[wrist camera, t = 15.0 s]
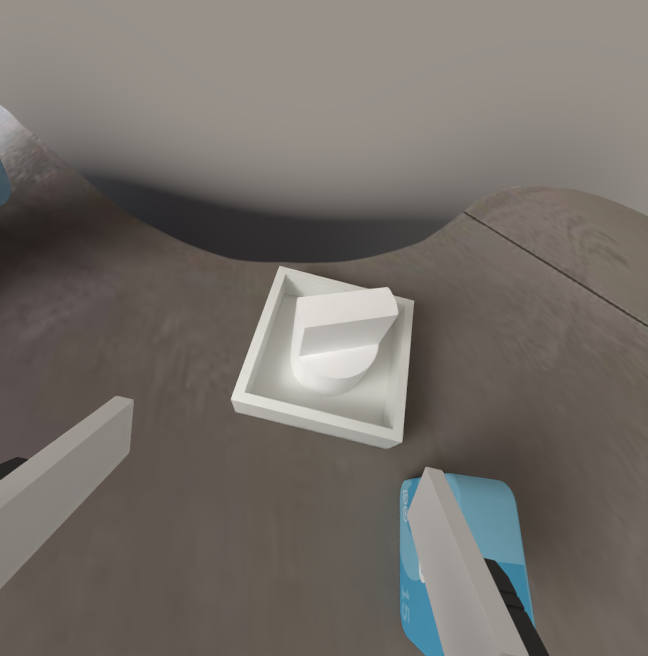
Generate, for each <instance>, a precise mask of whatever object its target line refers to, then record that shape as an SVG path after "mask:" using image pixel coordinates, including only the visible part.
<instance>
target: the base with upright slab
mask: <svg viewBox="0 0 648 656" xmlns="http://www.w3.org/2000/svg"><path fill="white" fill-rule="evenodd" d="M397 316H398V308H397V304H396V300H395V298H394V296H393V294H392V293H391V291H390V289H389V288H388V287H384V288H375V289H367V290H358V291H350V292H341V293H332V294H324V295H315V296H306V297H298V298H297V304H296V312H295V320H294V329H293V337H292V345H291V354H290V362H291V368H292V371H293V374H294V376H295V377H296V379H297V380H298V381H299V383H300V384H301V385H303V386H304V387H305V388H306V389H307V390H309V391H311V392H313V393H315V394H318V395H323V396H337V395H340V394H343V393H346V392H348V391H349V390H351V389H352V388H354V387H355V385H356V384H357V383H358V382H359V380H360V379H361V378H362V376H363V375H364V374H365V372H366V371H367V369H368V368H369V367H370V365H371V364H372V363H373V361H374V359H375V357H376V354H377V352H378V344H379V343H380V341H381V340H382V338H383V337H384V335H385V334H386V332H387V331H388V329H389V328H390V326H391V325H392V323H393V322H394V320H395V319H396V317H397Z"/></svg>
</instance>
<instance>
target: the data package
mask: <svg viewBox="0 0 648 656" xmlns="http://www.w3.org/2000/svg"><path fill="white" fill-rule="evenodd" d="M444 475H445V477H446V480H447V482H448V484H449V486H450V488H451V490H452V492H453V495H454V497H455V499H456V501H457V503H458V505H459V507H460V509H461V512H462V514H463V516H464V518H465V520H466V522H467V524H468V527H469V529H470V531H471V533H472V535H473V537H474V539H475V541H476V544H477V546H478V548H479V550H480V552H481V554H482V556H483V558H487V559H492V560H495V561H496V562H497V563H498V565H499V566H500V567H501V568H502V569H503V571H504V572H505V573H506V574H507V576H508V577H509V579H510V581H511V583H512V585H513V587H514V589H515V591H516V592H517V597H519V598H520V600H521V602H522V604H523V606H524V608H525V609H524V610H525V612H527V614H528V616H529V618H530V620H531V621H532V623H533V625H534V627H535V629H536V626H535V620H534V613H533V607H532V601H531V594H530V588H529V582H528V575H527V569H526V562H525V556H524V550H523V543H522V537H521V531H520V524H519V518H518V512H517V505H516V501H515V497H514V495H513V493H512V491H511V489H510V488H509V487H508V485H507V484H505V483H504V482H502V481H500V480H494V479H487V478H480V477H473V476H466V475H459V474H452V473H445V474H444ZM420 480H421V477H420V478H413V479H407V480H405V481H404V482H403V484H402V486H401V491H400V615H401V622H402V626H403V630H404V632H405V634H406V636H407V637H408V638H409V639H410V640H411V641H412V642H413V643H414V644H415V645H416V646H417V647H418V648H419V649H420V650H421V651H422V652H423V653H424V654H425V655H426V656H444V652H443V648H442V645H441V641H440V637H439V633H438V630H437V626H436V622H435V618H434V615H433V611H432V607H431V603H430V600H429V596H428V592H427V588H426V585H425V581H424V577H423V573H422V570H421V566H420V562H419V558H418V555H417V551H416V547H415V543H414V540H413V536H412V532H411V528H410V525H409V521H408V517H407V513H408V510H409V508H410V505H411V503H412V500H413V498H414V495H415V492H416V490H417V487H418V485H419V482H420Z"/></svg>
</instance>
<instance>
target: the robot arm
mask: <svg viewBox="0 0 648 656" xmlns="http://www.w3.org/2000/svg"><path fill="white" fill-rule="evenodd" d="M10 195H11V185H10V181H9V178H8V176H7V173H6V171H5V168H4V166H3V164H2V162H1V160H0V206H1V205H2V204H4V203H6V202H7V201H8V199H9V197H10ZM133 405H134V400H132V399H128V398H123V397H119V396H115V397H114V398H113V399H111V400H110V401H109V402H107V403H106V404H104V405H103V406H102V407H100V408H99V409H98V410H96V411H95V412H93V413H92V414H91V415H89V416H88V417H87V418H85V419H84V420H82V421H81V422H80V423H78V424H77V425H76V426H74V427H73V428H71V429H70V430H69V431H67V432H66V433H65V434H63V435H62V436H60V437H59V438H58V439H56V440H55V441H54V442H52V443H51V444H49V445H48V446H47V447H45V448H44V449H43V450H41V451H40V452H38V453H37V454H36V455H34V456H33V457H32V458H30V459H25V458H20V457H16V458H14V459H11V460H9V461H7V462H4V463H2V464H0V589H1V588H2V587H3V585H4V584H5V583H6V582H7V581H8V580H9V579H10V578H11V577H12V576H13V575H14V574H15V573H16V572H17V571H18V570H19V569H20V568H21V566H22V565H23V564H24V563H25V562H26V561H27V560H28V559H29V558H30V557H31V556H32V555H33V554H34V553H35V552H36V551H37V550H38V549H39V548H40V546H41V545H42V544H43V543H44V542H45V541H46V540H47V539H48V538H49V537H50V536H51V535H52V534H53V533H54V532H55V531H56V530H57V529H58V527H59V526H60V525H61V524H62V523H63V522H64V521H65V520H66V519H67V518H68V517H69V516H70V515H71V514H72V513H73V512H74V511H75V510H76V509H77V507H78V506H79V505H80V504H81V503H82V502H83V501H84V500H85V499H86V498H87V497H88V496H89V495H90V494H91V493H92V492H93V491H94V490H95V488H96V487H97V486H98V485H99V484H100V483H101V482H102V481H103V480H104V479H105V478H106V477H107V476H108V475H109V474H110V473H111V472H112V471H113V469H114V468H115V467H116V466H117V465H118V464H119V463H120V462H121V461H122V460H123V459H124V458H125V457H126V456H127V455H128V454H129V451H130V439H131V428H132V416H133ZM407 517H408V521H409V525H410V528H411V532H412V536H413V540H414V543H415V547H416V551H417V555H418V558H419V562H420V566H421V570H422V573H423V577H424V581H425V585H426V588H427V592H428V596H429V600H430V603H431V607H432V611H433V615H434V618H435V622H436V626H437V630H438V633H439V637H440V641H441V645H442V648H443V652H444V656H549V654H548V652H547V650H546V649H545V647H544V645H543V643H542V641H541V639H540V637H539V635H538V633H537V631H536V629H535V627H534V625H533V623H532V621H531V620H530V618H529V616H528V614H527V612H525V610H524V609H525V608H524V606H523V604H522V602H521V600H520V598H519V597H517V592H516V591H515V589H514V587H513V585H512V583H511V581H510V579H509V577H508V576H507V574H506V573H505V572H504V571H503V569H502V568H501V567H500V566H499V565H498V563H497V562H496V561H495V560H492V559H487V558H483V556H482V554H481V552H480V550H479V548H478V546H477V544H476V541H475V539H474V537H473V535H472V533H471V531H470V529H469V527H468V524H467V522H466V520H465V518H464V516H463V514H462V512H461V509H460V507H459V505H458V503H457V501H456V499H455V497H454V495H453V492H452V490H451V488H450V486H449V484H448V482H447V480H446V477H445V475H444V473H443V471H442V470H439V469H434V468H430V467H425V470H424V472H423V475H422V477H421V480H420V482H419V485H418V487H417V490H416V492H415V495H414V498H413V500H412V503H411V505H410V508H409V510H408V513H407Z"/></svg>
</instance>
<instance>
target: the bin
mask: <svg viewBox="0 0 648 656" xmlns="http://www.w3.org/2000/svg"><path fill="white" fill-rule="evenodd" d="M358 290H367V288H363V287H359V286H355V285H351V284H347V283H344V282H340V281H336V280H332V279H328V278H324V277H320V276H317V275H313V274H309V273H305V272H301V271H297V270H293V269H290V268H286V267H282V266H279V269H278V272H277V274H276V277H275V280H274V283H273V285H272V288H271V291H270V294H269V296H268V299H267V302H266V304H265V307H264V310H263V313H262V315H261V318H260V321H259V324H258V326H257V329H256V332H255V335H254V337H253V340H252V343H251V346H250V348H249V351H248V354H247V356H246V359H245V362H244V365H243V367H242V370H241V373H240V376H239V378H238V381H237V384H236V387H235V389H234V392H233V395H232V397H231V401H232V404H233V406H234V409H235V411H236V412H239V413H243V414H247V415H251V416H255V417H259V418H263V419H267V420H271V421H275V422H279V423H283V424H287V425H291V426H295V427H299V428H303V429H307V430H311V431H315V432H319V433H323V434H327V435H331V436H335V437H339V438H343V439H347V440H351V441H355V442H359V443H363V444H367V445H371V446H375V447H379V448H383V449H389V448H391V447H393V446H395V445H398V444H400V443H402V439H403V427H404V415H405V404H406V392H407V380H408V368H409V356H410V344H411V332H412V320H413V308H414V301H413V300H409V299H405V298H401V297H397V296H394V295H393V296H394V298H395V300H396V304H397V308H398V316H397V317H396V319H395V320H394V322H393V323H392V325H391V326H390V328H389V329H388V331H387V332H386V334H385V335H384V337H383V338H382V340H381V341H380V343H379V344H378V352H377V354H376V357H375V359H374V361H373V363H372V364H371V365H370V367H369V368H368V369H367V371H366V372H365V374H364V375H363V376H362V378H361V379H360V380H359V382H358V383H357V384H356V385H355V387H354V388H352V389H351V390H349V391H348V392H346V393H343V394H340V395H337V396H323V395H318V394H315V393H313V392H311V391H309V390H307V389H306V388H305V387H304V386H303V385H301V384H300V383H299V381H298V380H297V379H296V377H295V376H294V374H293V371H292V368H291V362H290V354H291V345H292V337H293V329H294V320H295V312H296V304H297V298H298V297H306V296H315V295H324V294H332V293H341V292H350V291H358Z"/></svg>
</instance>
